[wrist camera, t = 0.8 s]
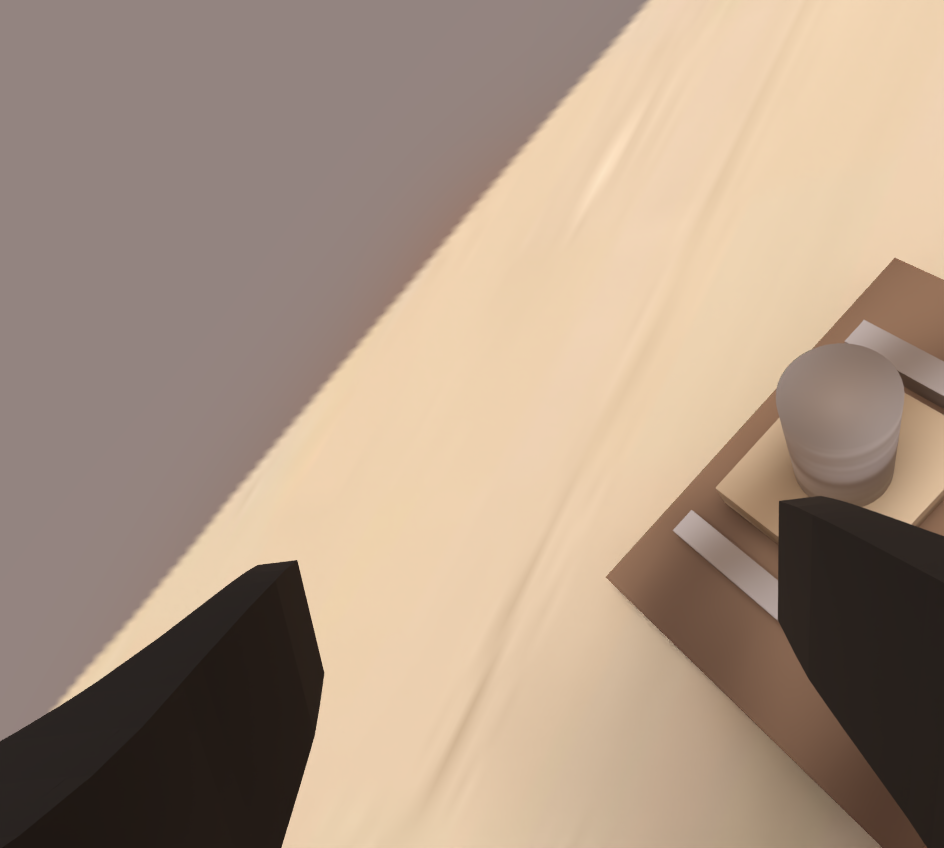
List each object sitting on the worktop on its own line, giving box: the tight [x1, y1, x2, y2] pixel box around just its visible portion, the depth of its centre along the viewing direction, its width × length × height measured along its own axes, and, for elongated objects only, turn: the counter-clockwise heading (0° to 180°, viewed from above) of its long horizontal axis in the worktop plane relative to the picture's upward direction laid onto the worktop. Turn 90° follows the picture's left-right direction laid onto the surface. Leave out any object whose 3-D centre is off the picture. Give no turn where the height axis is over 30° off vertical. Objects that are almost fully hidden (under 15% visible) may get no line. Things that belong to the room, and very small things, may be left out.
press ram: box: [716, 343, 944, 544], centre depth 20 cm, size 5×6×8 cm
